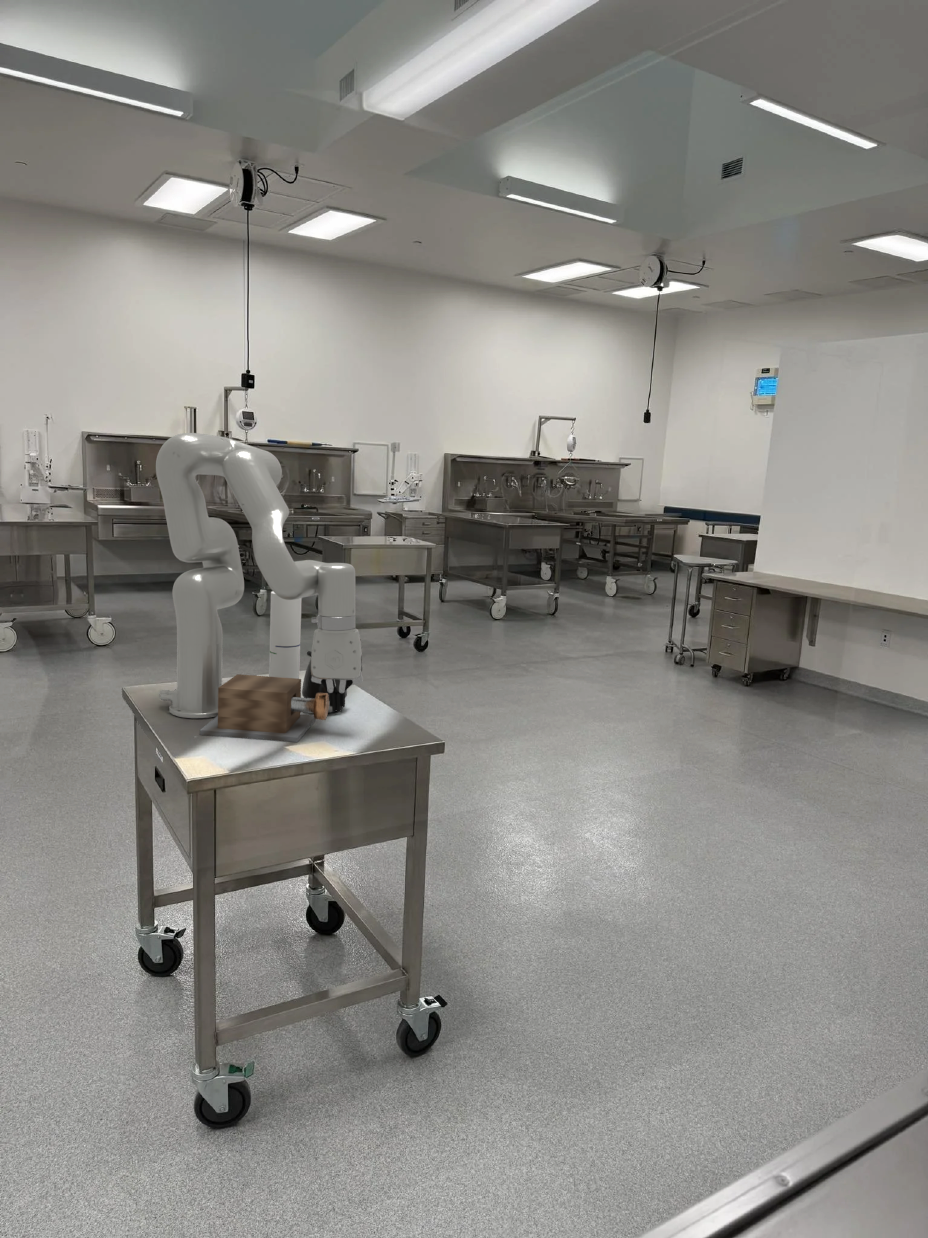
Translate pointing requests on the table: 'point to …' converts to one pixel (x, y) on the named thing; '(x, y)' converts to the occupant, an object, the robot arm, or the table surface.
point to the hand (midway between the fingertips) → (337, 709)
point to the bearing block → (259, 709)
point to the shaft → (312, 705)
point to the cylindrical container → (284, 637)
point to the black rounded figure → (315, 685)
